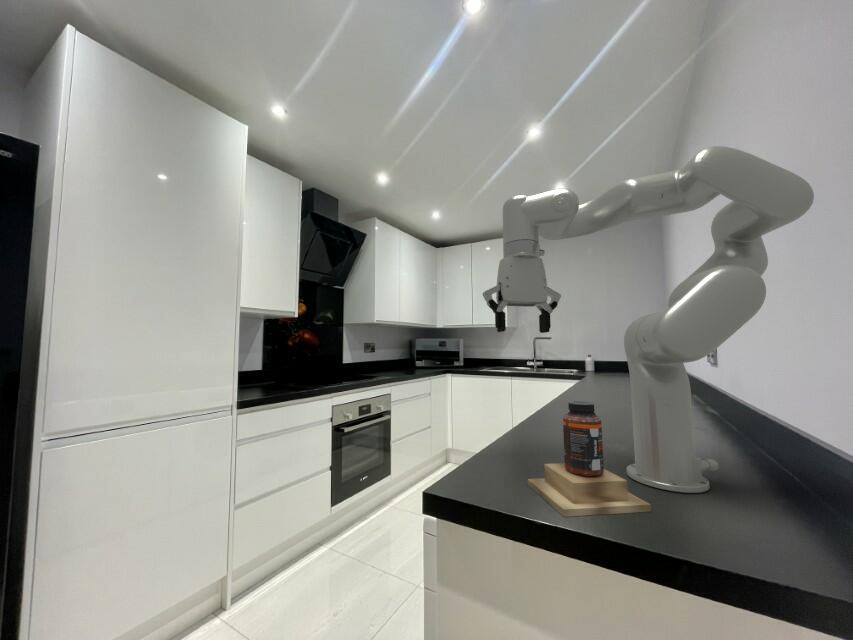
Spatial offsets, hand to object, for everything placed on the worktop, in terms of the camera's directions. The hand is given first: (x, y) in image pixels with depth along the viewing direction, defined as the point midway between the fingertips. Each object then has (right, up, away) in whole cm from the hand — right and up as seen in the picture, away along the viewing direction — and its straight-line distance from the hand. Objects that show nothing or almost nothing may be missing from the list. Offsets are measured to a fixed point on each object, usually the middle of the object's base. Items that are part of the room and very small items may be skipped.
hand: (523, 331), depth 70 cm
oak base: (+6, -27, -15) cm, 31 cm away
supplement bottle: (+6, -23, -15) cm, 28 cm away
